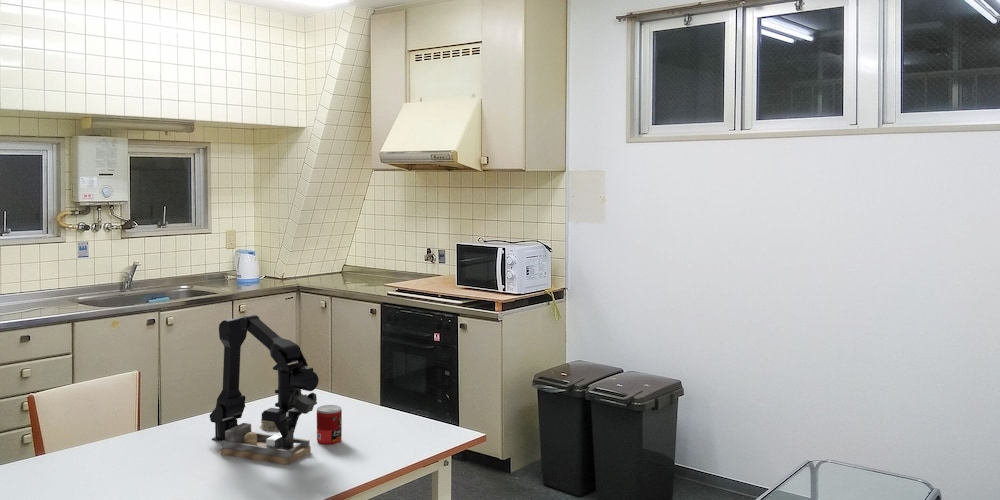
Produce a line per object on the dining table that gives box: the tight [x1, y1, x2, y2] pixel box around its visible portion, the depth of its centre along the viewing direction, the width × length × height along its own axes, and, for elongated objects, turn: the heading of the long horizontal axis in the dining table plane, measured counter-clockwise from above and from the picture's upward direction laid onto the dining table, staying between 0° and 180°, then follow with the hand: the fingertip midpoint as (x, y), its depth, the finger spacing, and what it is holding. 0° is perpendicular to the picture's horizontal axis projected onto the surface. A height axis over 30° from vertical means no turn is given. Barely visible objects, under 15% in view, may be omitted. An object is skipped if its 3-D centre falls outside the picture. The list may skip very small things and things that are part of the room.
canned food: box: [316, 404, 343, 446], centre depth 256 cm, size 8×8×11 cm
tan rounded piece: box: [244, 431, 257, 445], centre depth 246 cm, size 4×4×4 cm
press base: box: [220, 422, 312, 466], centre depth 244 cm, size 24×12×7 cm, turn 71°
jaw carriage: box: [266, 426, 301, 452], centre depth 242 cm, size 7×8×7 cm
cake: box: [259, 418, 279, 432], centre depth 271 cm, size 10×10×5 cm
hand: (288, 436), depth 242 cm, fingers open, 3 cm apart
